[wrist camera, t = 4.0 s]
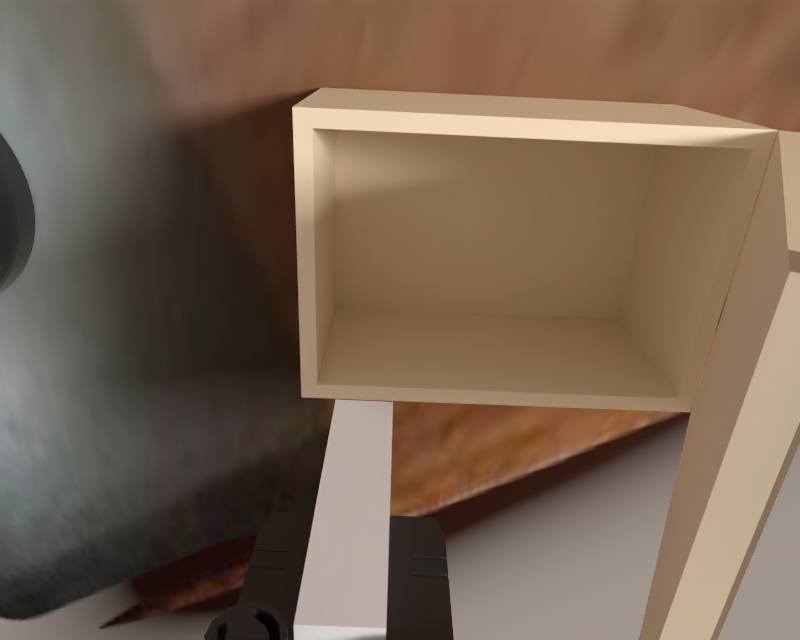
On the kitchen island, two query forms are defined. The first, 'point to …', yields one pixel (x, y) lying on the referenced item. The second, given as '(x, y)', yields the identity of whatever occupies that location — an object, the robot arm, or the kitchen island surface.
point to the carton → (515, 246)
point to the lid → (737, 422)
